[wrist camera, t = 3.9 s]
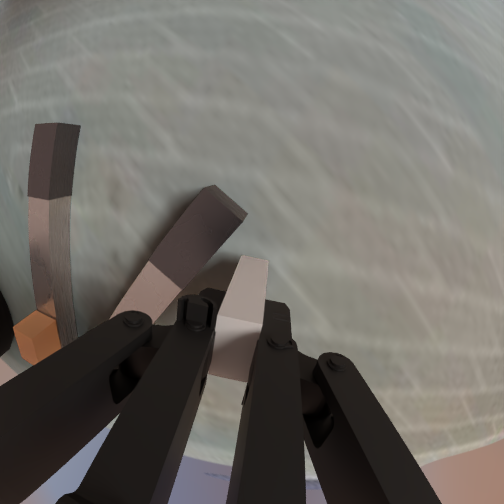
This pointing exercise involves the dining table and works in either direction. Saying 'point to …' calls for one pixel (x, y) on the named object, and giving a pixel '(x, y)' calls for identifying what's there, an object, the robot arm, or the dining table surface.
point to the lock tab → (37, 337)
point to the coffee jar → (5, 327)
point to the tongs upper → (183, 252)
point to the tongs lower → (52, 223)
